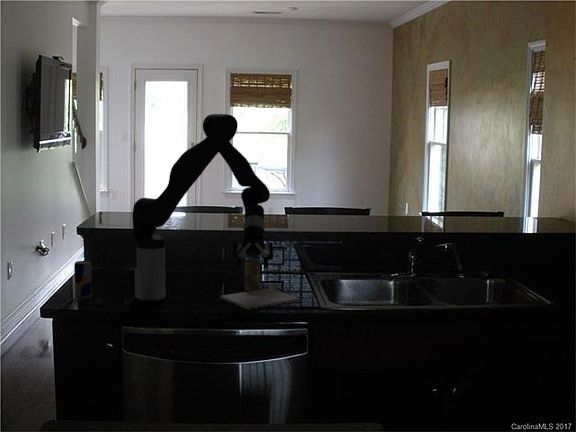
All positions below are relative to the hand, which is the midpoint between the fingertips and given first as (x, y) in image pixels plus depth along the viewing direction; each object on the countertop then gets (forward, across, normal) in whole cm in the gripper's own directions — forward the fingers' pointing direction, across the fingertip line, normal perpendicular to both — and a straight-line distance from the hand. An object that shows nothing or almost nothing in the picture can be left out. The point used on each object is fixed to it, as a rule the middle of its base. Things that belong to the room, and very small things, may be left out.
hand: (252, 268), depth 283 cm
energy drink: (+16, -55, -6) cm, 58 cm away
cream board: (+17, +3, -7) cm, 18 cm away
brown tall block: (+6, 0, +4) cm, 7 cm away
